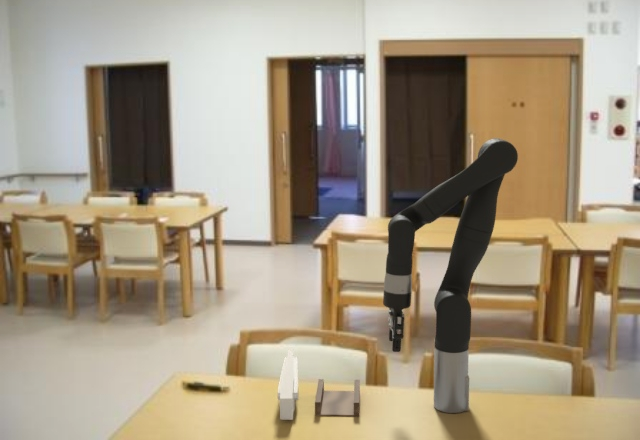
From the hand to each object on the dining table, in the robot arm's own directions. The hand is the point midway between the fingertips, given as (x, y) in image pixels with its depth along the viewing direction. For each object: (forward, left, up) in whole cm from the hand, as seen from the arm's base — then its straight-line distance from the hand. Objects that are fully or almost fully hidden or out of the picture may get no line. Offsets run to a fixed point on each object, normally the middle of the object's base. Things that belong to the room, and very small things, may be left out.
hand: (394, 345), depth 198 cm
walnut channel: (+16, -1, -18) cm, 24 cm away
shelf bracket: (+29, 0, -18) cm, 34 cm away
